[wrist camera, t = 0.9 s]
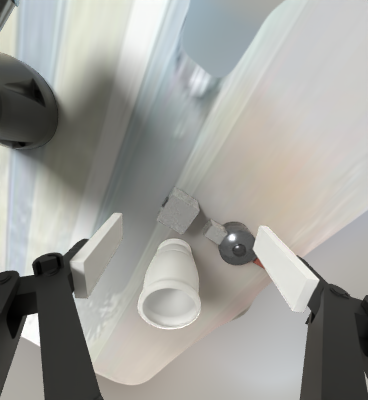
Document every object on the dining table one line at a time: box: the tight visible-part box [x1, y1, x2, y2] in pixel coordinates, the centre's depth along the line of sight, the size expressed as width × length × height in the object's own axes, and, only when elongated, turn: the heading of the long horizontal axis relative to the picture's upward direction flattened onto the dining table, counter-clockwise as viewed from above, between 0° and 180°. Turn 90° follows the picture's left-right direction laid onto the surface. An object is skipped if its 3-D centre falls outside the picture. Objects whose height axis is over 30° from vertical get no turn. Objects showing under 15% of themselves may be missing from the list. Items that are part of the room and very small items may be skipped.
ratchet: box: [203, 219, 265, 269], centre depth 38 cm, size 22×8×6 cm, turn 57°
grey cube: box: [156, 186, 200, 235], centre depth 35 cm, size 6×6×6 cm
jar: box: [137, 238, 201, 329], centre depth 35 cm, size 11×10×15 cm
